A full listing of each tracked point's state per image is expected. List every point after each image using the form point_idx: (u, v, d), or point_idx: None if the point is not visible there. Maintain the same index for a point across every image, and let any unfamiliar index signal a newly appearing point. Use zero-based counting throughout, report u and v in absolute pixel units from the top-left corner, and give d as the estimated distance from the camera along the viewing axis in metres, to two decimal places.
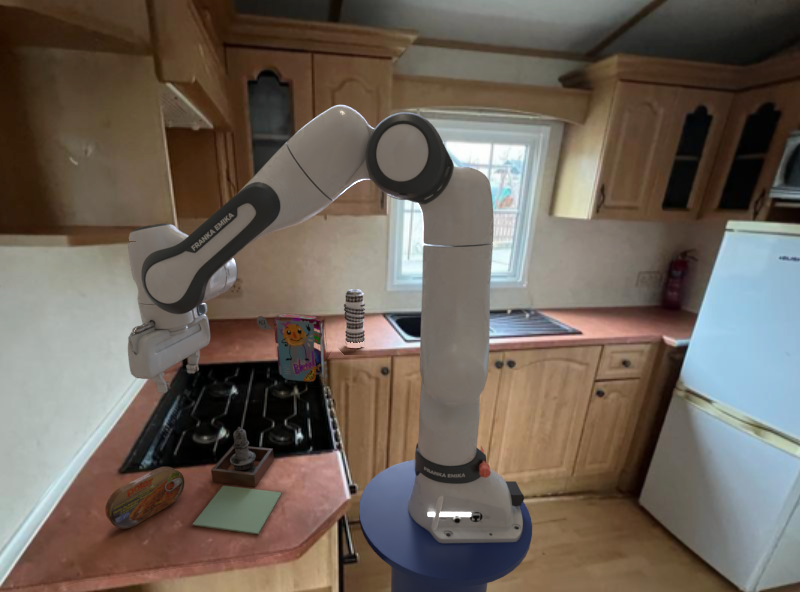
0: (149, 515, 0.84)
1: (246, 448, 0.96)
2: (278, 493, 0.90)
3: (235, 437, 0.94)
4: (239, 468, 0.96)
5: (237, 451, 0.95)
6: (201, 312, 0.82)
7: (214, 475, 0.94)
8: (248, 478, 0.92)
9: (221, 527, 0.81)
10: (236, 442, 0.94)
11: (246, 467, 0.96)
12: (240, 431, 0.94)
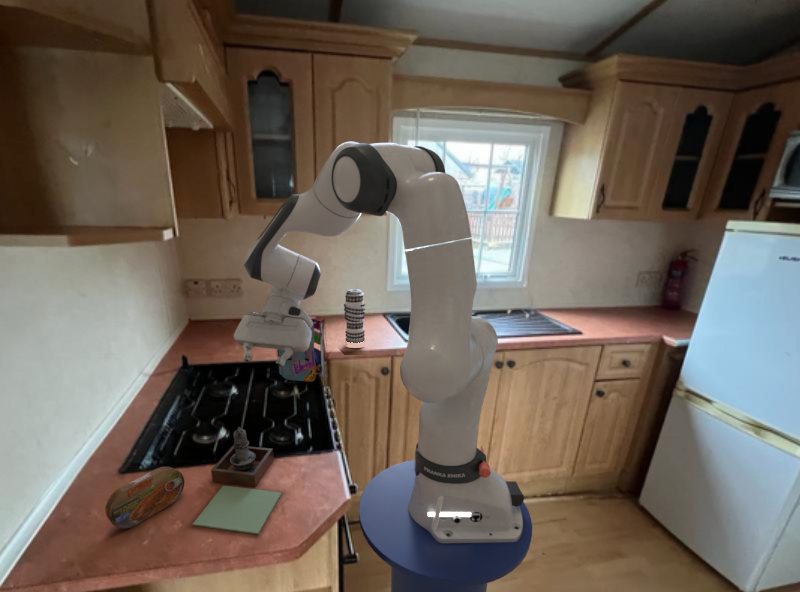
0: (149, 515, 0.84)
1: (246, 448, 0.96)
2: (278, 493, 0.90)
3: (235, 437, 0.94)
4: (239, 468, 0.96)
5: (237, 451, 0.95)
6: (293, 313, 1.02)
7: (214, 475, 0.94)
8: (248, 478, 0.92)
9: (221, 527, 0.81)
10: (236, 442, 0.94)
11: (246, 467, 0.96)
12: (240, 431, 0.94)
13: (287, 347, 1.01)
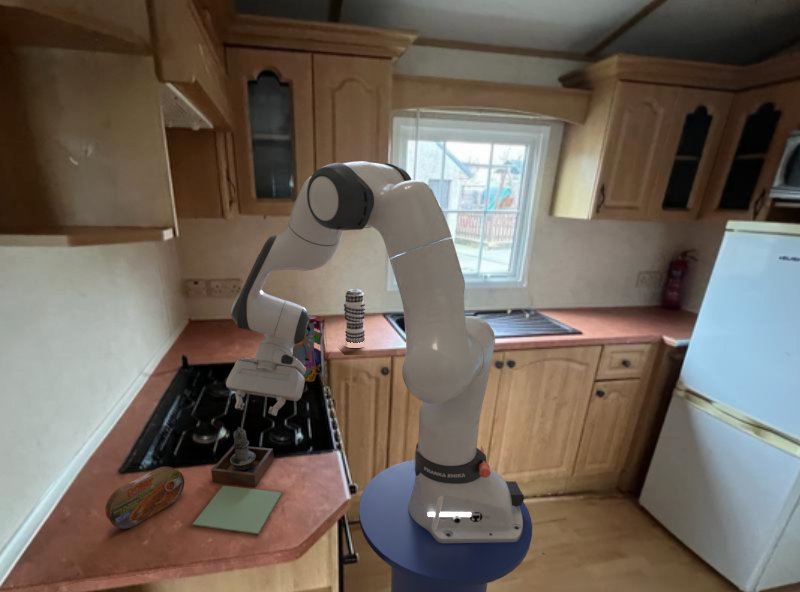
0: (149, 515, 0.84)
1: (246, 448, 0.96)
2: (278, 493, 0.90)
3: (235, 437, 0.94)
4: (239, 468, 0.96)
5: (237, 451, 0.95)
6: (286, 362, 1.01)
7: (214, 475, 0.94)
8: (248, 478, 0.92)
9: (221, 527, 0.81)
10: (236, 442, 0.94)
11: (246, 467, 0.96)
12: (240, 431, 0.94)
13: (279, 397, 0.99)
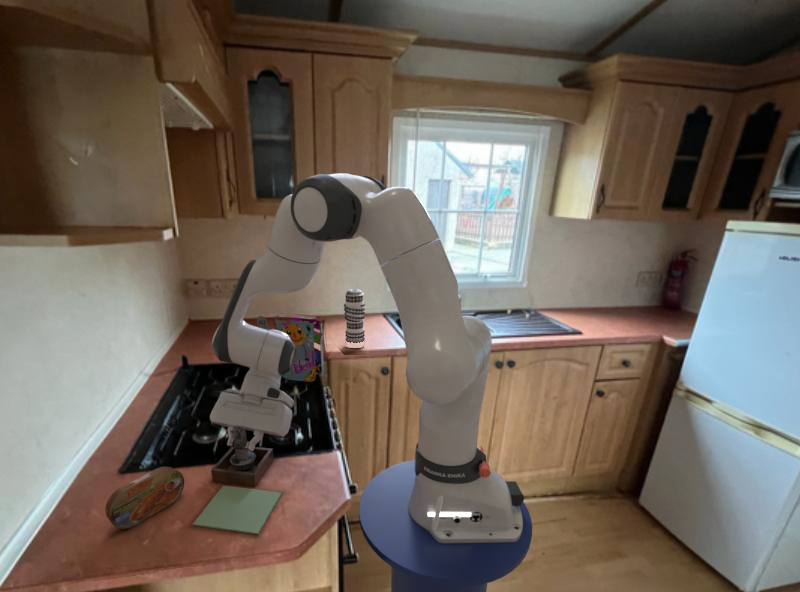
0: (149, 515, 0.84)
1: None
2: (278, 493, 0.90)
3: (235, 437, 0.94)
4: (239, 468, 0.96)
5: (237, 451, 0.95)
6: (272, 395, 0.96)
7: (214, 475, 0.94)
8: (248, 478, 0.92)
9: (221, 527, 0.81)
10: (236, 442, 0.94)
11: (246, 467, 0.96)
12: (240, 431, 0.94)
13: (257, 431, 0.96)
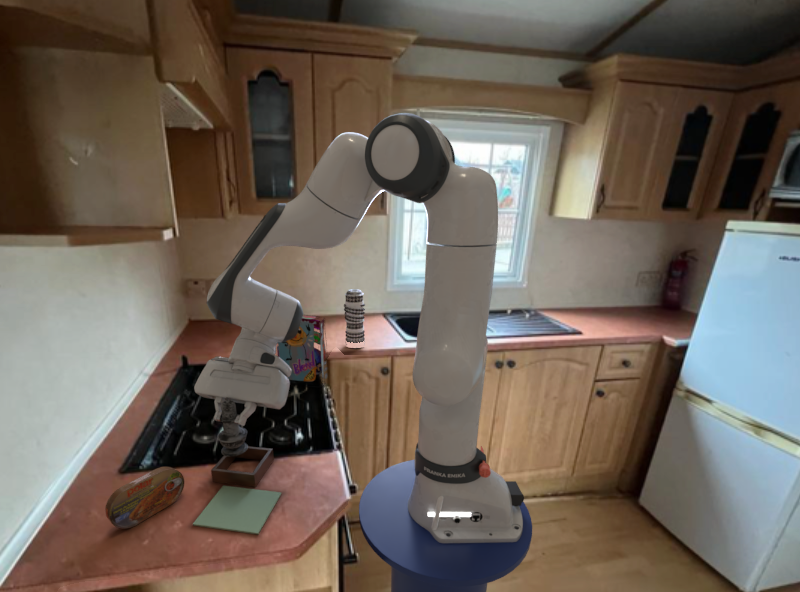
0: (149, 515, 0.84)
1: None
2: (278, 493, 0.90)
3: (223, 409, 0.80)
4: (228, 446, 0.82)
5: (225, 426, 0.82)
6: (266, 361, 0.82)
7: (214, 475, 0.94)
8: (248, 478, 0.92)
9: (221, 527, 0.81)
10: (224, 415, 0.81)
11: (236, 445, 0.82)
12: (229, 402, 0.81)
13: (248, 402, 0.82)
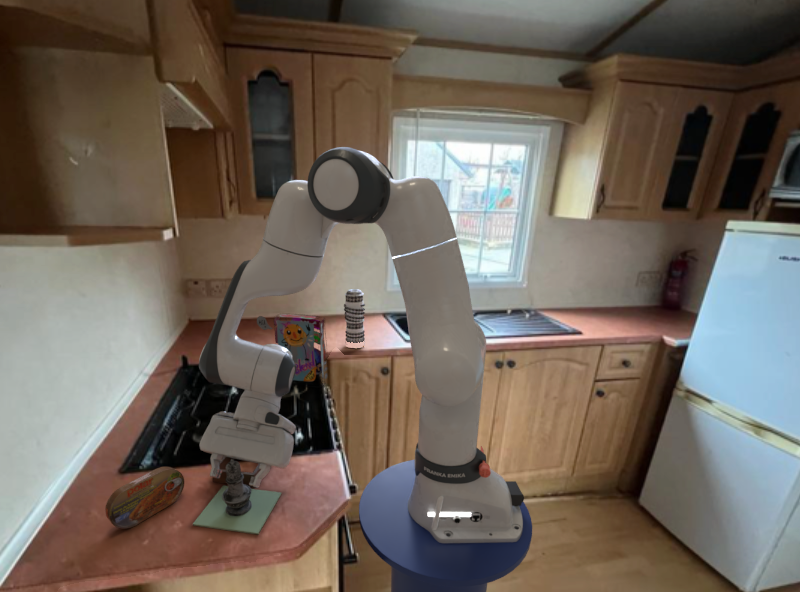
0: (149, 515, 0.84)
1: (240, 483, 0.83)
2: (278, 493, 0.90)
3: (228, 471, 0.82)
4: (232, 506, 0.83)
5: (230, 487, 0.83)
6: (271, 421, 0.83)
7: None
8: (248, 478, 0.92)
9: (221, 527, 0.81)
10: (229, 477, 0.82)
11: (240, 505, 0.83)
12: (233, 464, 0.82)
13: (263, 464, 0.82)
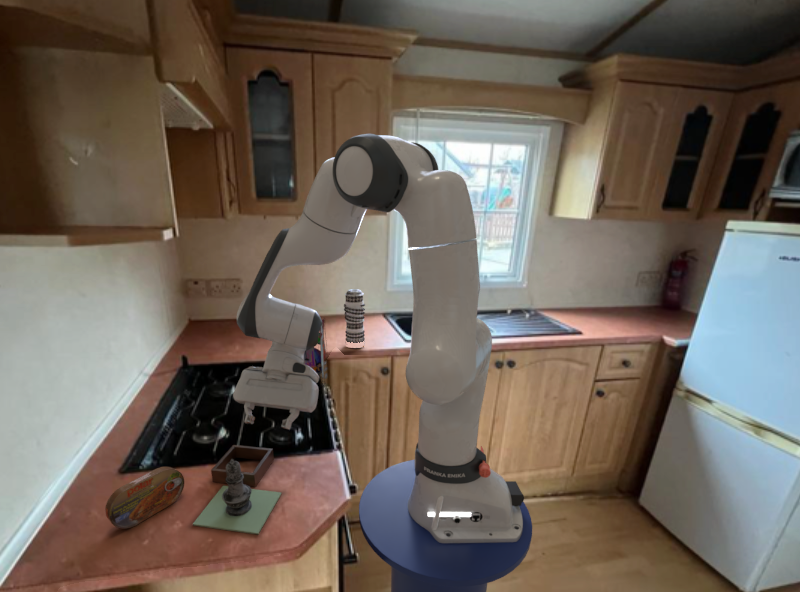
0: (149, 515, 0.84)
1: (240, 483, 0.83)
2: (278, 493, 0.90)
3: (228, 471, 0.82)
4: (232, 506, 0.83)
5: (230, 487, 0.83)
6: (298, 370, 0.93)
7: (214, 475, 0.94)
8: (248, 478, 0.92)
9: (221, 527, 0.81)
10: (229, 477, 0.82)
11: (240, 505, 0.83)
12: (233, 464, 0.82)
13: (293, 408, 0.92)
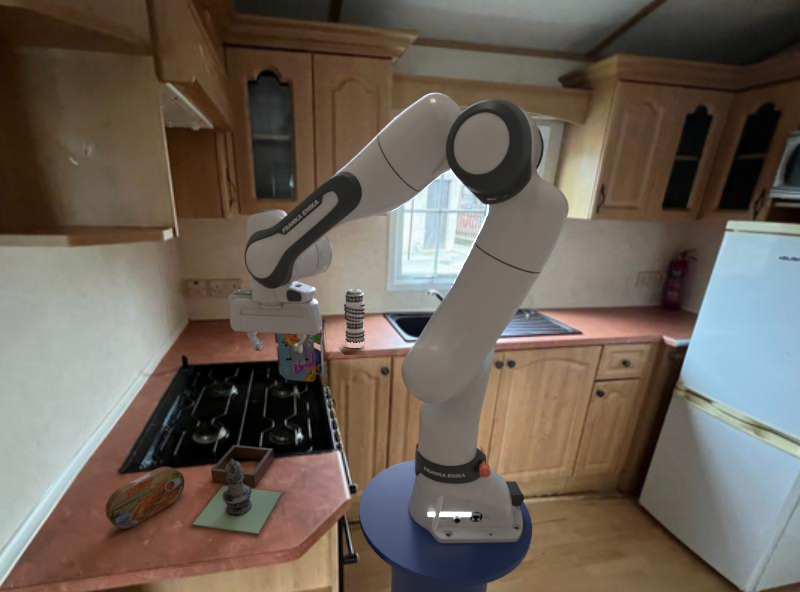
0: (149, 515, 0.84)
1: (240, 483, 0.83)
2: (278, 493, 0.90)
3: (228, 471, 0.82)
4: (232, 506, 0.83)
5: (230, 487, 0.83)
6: (294, 299, 0.84)
7: (214, 475, 0.94)
8: (248, 478, 0.92)
9: (221, 527, 0.81)
10: (229, 477, 0.82)
11: (240, 505, 0.83)
12: (233, 464, 0.82)
13: (300, 335, 0.89)
